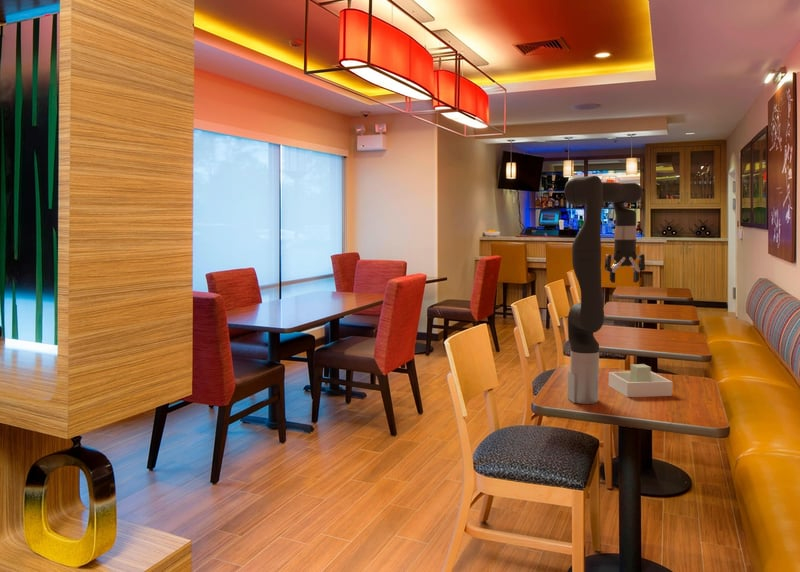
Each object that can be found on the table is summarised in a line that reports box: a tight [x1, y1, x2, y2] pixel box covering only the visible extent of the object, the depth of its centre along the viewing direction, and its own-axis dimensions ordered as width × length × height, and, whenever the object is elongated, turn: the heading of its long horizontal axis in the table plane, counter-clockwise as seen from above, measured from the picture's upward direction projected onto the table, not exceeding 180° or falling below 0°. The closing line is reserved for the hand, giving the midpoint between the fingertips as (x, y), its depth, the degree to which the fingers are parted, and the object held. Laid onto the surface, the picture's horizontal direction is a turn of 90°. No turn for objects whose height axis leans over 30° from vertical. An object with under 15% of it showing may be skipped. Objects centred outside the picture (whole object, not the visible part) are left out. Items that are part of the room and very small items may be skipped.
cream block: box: [630, 363, 652, 382], centre depth 220 cm, size 5×5×8 cm
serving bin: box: [608, 370, 673, 398], centre depth 220 cm, size 16×16×5 cm
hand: (624, 282), depth 226 cm, fingers open, 8 cm apart
